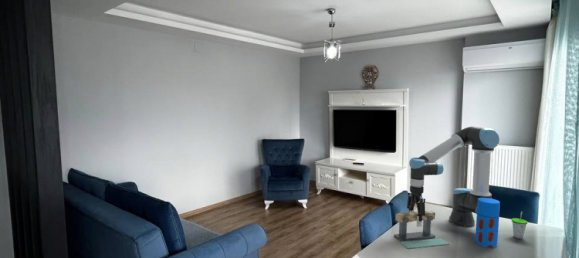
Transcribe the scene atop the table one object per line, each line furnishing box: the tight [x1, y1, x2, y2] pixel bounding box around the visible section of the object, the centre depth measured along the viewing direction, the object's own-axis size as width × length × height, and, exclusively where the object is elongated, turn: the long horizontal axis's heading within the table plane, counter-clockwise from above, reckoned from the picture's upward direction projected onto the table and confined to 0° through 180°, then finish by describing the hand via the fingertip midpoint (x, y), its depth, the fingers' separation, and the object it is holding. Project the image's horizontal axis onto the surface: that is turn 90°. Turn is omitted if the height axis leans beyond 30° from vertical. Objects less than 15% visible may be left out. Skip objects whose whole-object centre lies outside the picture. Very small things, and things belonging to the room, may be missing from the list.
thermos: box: [475, 198, 501, 248], centre depth 181 cm, size 11×11×25 cm
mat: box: [400, 237, 450, 250], centre depth 180 cm, size 26×7×1 cm, turn 103°
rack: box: [393, 216, 436, 242], centre depth 189 cm, size 23×7×13 cm, turn 103°
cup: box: [511, 211, 528, 240], centre depth 190 cm, size 8×8×15 cm
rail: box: [394, 210, 436, 223], centre depth 188 cm, size 24×4×4 cm, turn 103°
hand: (415, 223), depth 189 cm, fingers open, 7 cm apart
